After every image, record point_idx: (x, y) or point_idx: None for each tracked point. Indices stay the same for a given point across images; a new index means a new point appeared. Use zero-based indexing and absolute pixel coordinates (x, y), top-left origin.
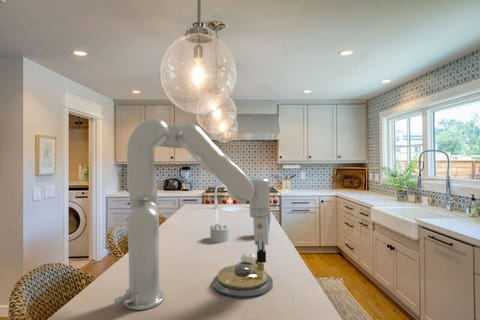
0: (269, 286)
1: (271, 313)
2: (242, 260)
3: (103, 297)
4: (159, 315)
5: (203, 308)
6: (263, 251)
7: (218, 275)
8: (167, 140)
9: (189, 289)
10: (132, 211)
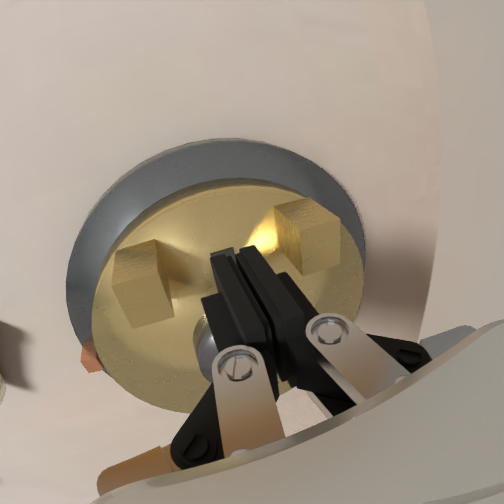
0: (279, 148)
1: (433, 117)
2: (3, 386)
3: None
4: None
5: (403, 311)
6: (343, 328)
7: (284, 390)
8: None
9: (304, 397)
10: None
